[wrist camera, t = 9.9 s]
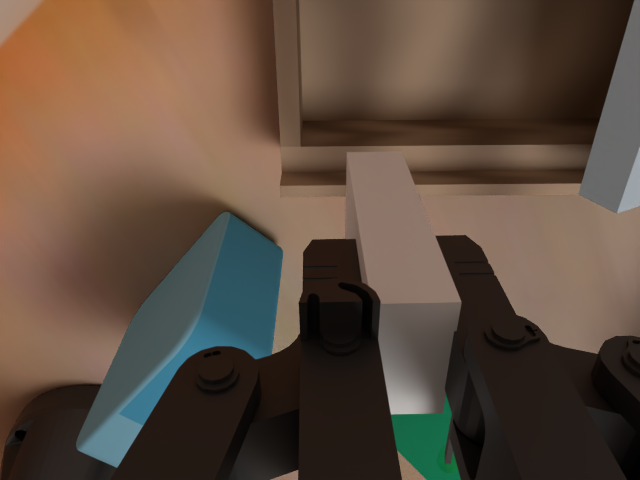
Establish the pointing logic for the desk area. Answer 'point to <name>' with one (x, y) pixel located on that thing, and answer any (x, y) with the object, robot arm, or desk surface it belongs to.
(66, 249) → the desk surface
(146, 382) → the data package
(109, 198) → the desk surface
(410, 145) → the pencil box
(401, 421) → the camera mount
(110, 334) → the desk surface
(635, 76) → the cover plate
